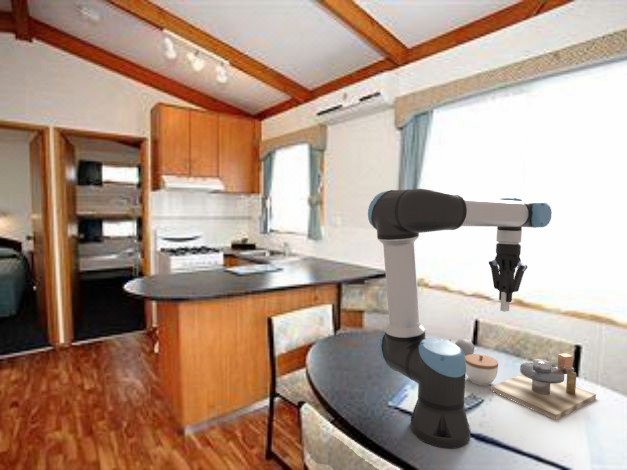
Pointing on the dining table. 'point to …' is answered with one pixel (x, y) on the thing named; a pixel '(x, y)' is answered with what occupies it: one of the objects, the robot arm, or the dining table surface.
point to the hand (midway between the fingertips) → (504, 310)
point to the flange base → (545, 394)
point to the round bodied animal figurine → (465, 346)
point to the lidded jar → (481, 368)
